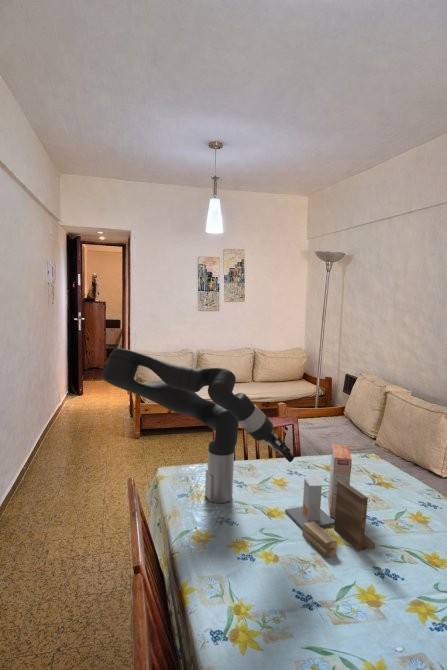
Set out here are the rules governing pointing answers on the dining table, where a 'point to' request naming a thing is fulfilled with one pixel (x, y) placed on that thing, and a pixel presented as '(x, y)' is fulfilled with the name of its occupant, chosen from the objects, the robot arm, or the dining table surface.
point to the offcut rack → (342, 523)
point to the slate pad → (300, 519)
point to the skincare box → (312, 499)
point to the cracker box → (338, 472)
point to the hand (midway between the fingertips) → (285, 454)
